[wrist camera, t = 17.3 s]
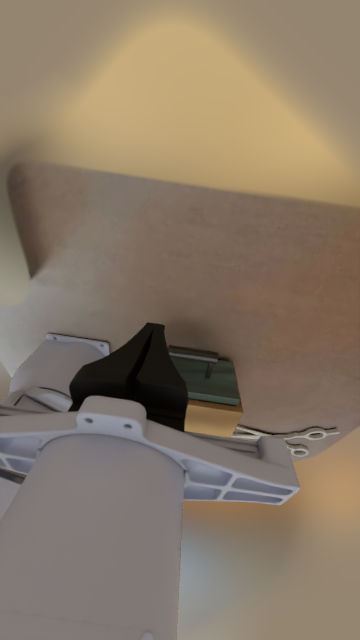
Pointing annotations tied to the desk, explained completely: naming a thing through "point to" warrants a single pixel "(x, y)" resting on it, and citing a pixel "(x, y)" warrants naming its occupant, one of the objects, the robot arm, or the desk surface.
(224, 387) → the drawer
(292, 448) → the scissors
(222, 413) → the cabinet
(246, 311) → the desk surface
